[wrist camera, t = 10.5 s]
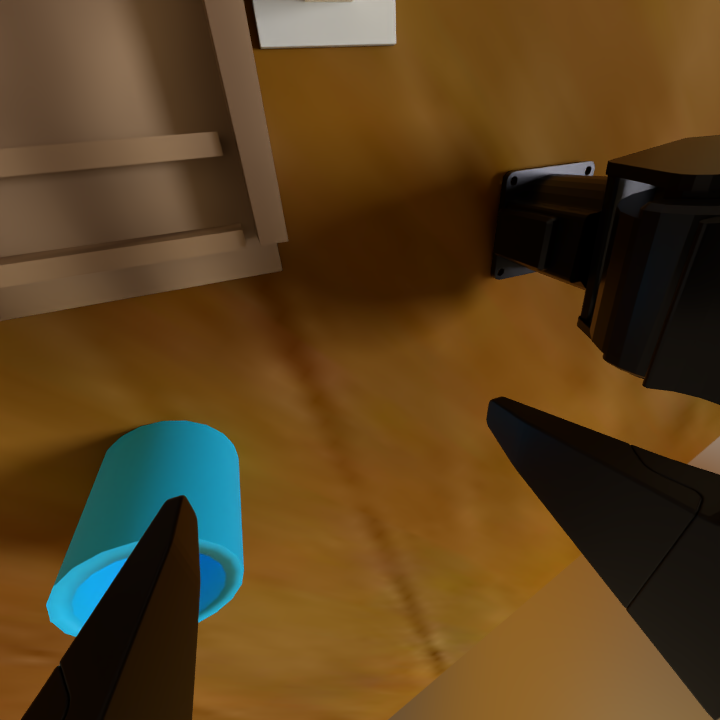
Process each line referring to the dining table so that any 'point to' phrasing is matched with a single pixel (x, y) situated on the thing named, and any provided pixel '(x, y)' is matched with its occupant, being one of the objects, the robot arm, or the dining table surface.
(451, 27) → the dining table surface
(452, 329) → the dining table surface
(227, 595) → the mug
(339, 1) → the block
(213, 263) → the rack
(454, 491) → the dining table surface
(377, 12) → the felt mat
